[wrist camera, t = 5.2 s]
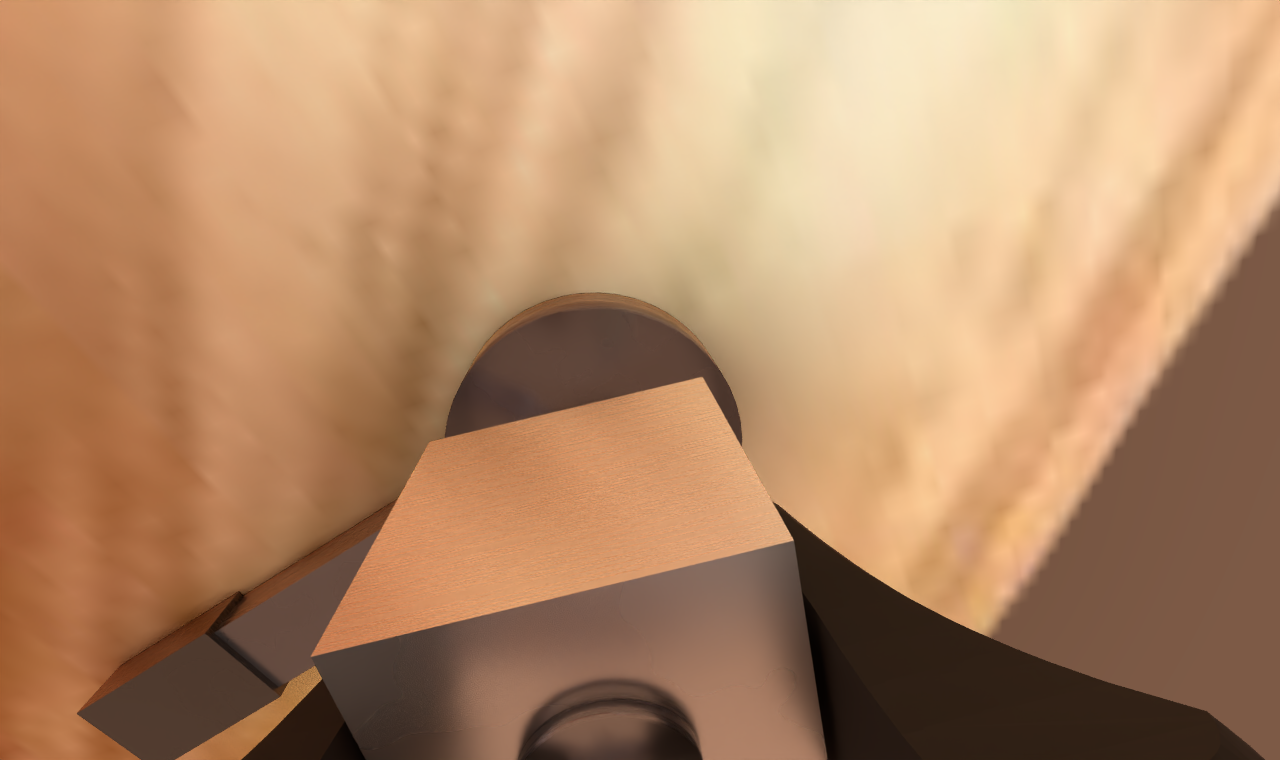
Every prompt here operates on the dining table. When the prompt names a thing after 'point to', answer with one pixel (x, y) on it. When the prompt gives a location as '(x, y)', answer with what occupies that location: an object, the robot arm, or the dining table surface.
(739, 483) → the tan square block
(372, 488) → the dining table surface
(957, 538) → the dining table surface
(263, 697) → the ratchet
